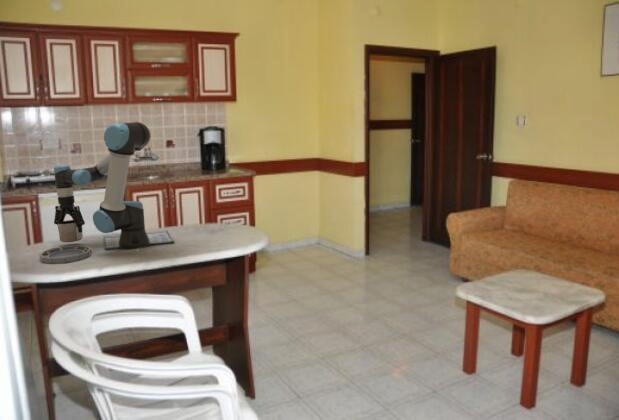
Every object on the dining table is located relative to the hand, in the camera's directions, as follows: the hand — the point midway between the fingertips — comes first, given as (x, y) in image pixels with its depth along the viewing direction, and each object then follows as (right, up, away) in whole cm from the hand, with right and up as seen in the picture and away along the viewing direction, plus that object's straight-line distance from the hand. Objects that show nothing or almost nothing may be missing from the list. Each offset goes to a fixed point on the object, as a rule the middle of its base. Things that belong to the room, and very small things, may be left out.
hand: (71, 238), depth 267 cm
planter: (0, -1, 0) cm, 1 cm away
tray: (+6, -8, -18) cm, 21 cm away
